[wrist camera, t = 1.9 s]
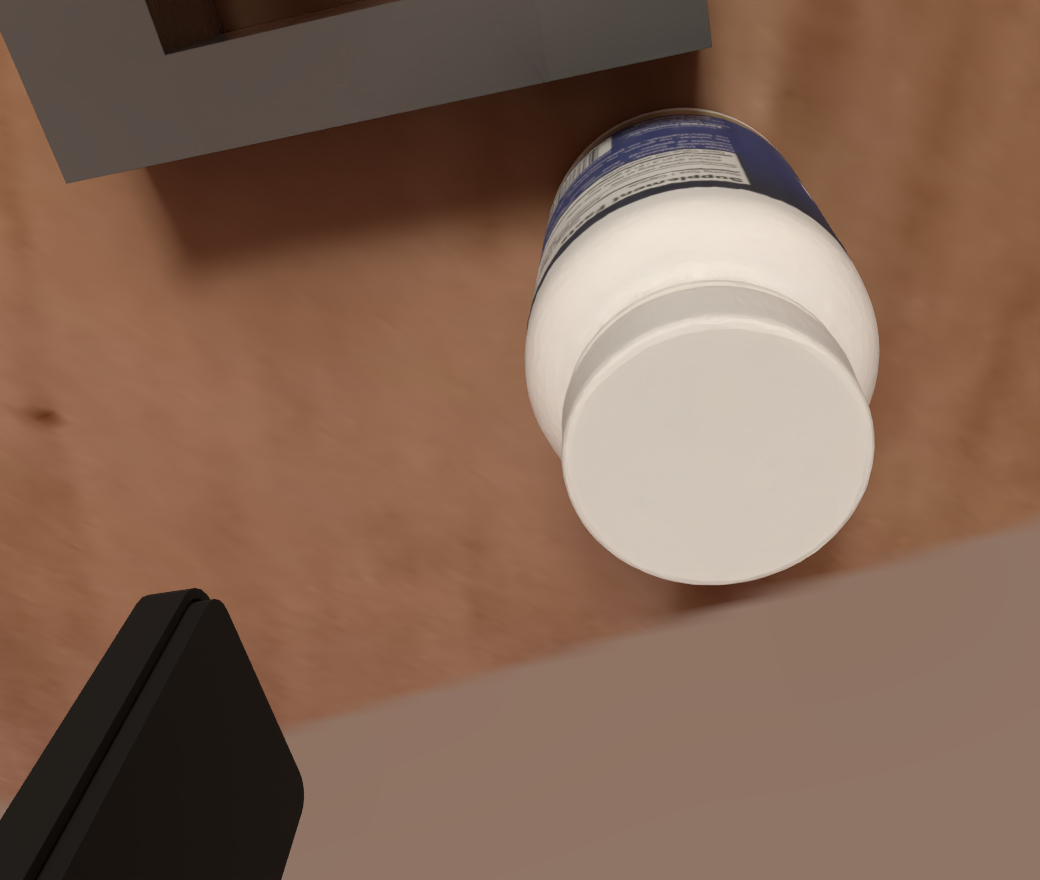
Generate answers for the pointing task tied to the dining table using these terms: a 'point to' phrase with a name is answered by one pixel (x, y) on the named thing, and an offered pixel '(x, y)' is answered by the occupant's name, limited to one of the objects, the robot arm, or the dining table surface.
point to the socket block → (301, 66)
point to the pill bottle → (701, 352)
